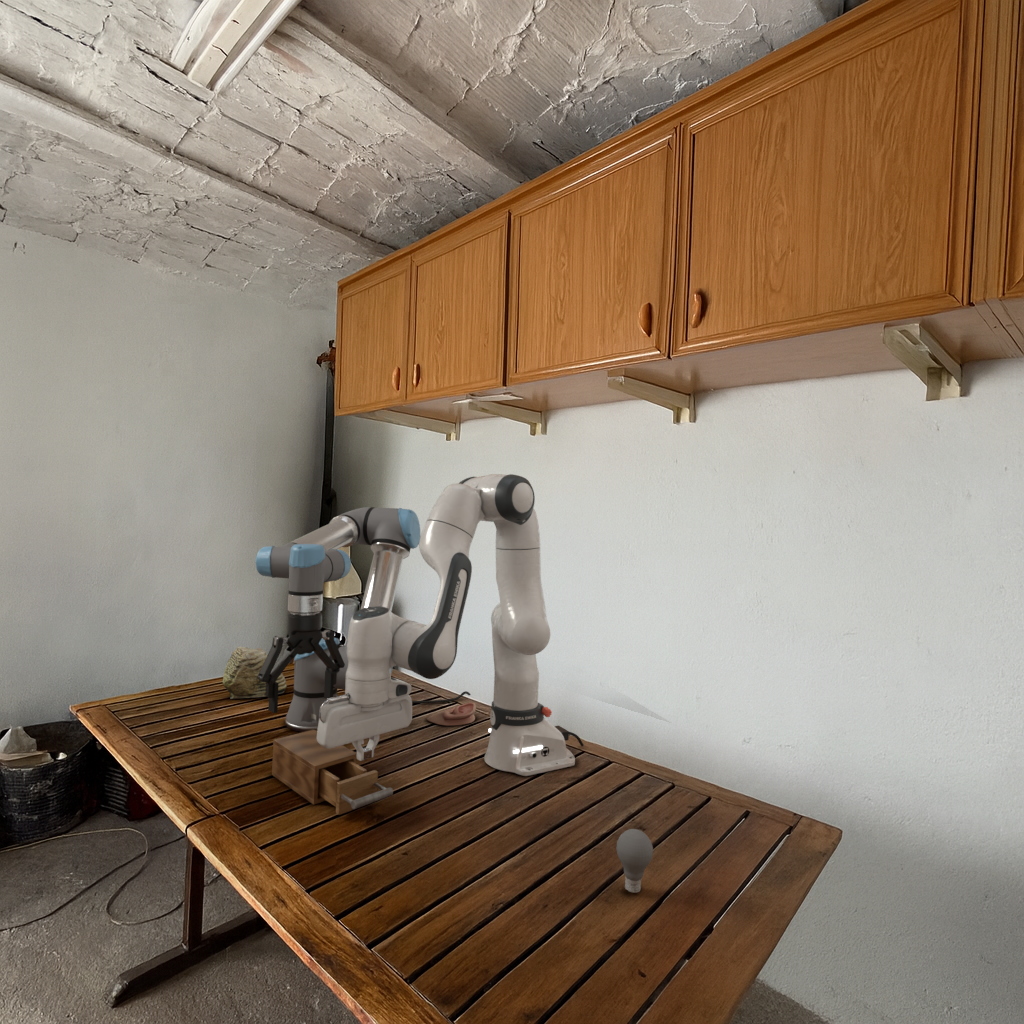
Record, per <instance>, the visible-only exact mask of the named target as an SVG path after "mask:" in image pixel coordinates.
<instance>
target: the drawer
mask: <svg viewBox="0 0 1024 1024" xmlns="http://www.w3.org/2000/svg"><path fill="white" fill-rule="evenodd" d="M378 779H379V772H378V771H377V770H376V769H373V770H370V771H368V770H367V768H364V767H363V766H361V765H359V764H358V763H357V764H356V763H354V762H352V761H351V760H348V761H344V762H341V763H338V764H335V765H331V766H328V767H325V768H321V769H319V780H318V795H319V796H320V797H322V798H323V799H325V800H326V801H325V802H328V803H329V804H331V805H332V806H334V807H335V814H336V815H338V816H340V815H343V814H347V813H348V812H351V811H353V810H357V809H359V808H362V807H365V806H367V805H370V804H373V803H376V802H378V801H381V800H383V799H387V798H389V797H392V796H393V795H394V789H393V788H392V787H391V786H389V787H385V786H384V785H382V784H380V783H378V781H379V780H378ZM378 789H379V790H378Z"/></svg>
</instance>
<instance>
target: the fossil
mask: <svg viewBox="0 0 1024 1024" xmlns="http://www.w3.org/2000/svg"><path fill="white" fill-rule="evenodd" d="M267 655H268V653H266V652H265V650H264V649H263V648H260V647H258V648H251V647H247V646H246V647H245V646H238V647H237V648H236V649H235V650H233V651H232V653H231V656H230V657H229V659H228V660H227V663H226V666H225V668H224V671H223V675H222V676H223V677H222V685H223V687H224V688H225V690H226V691H228V693H229V698H230V699H250V698H264V697H266V695H265V692H266V682H262V681H260V680H258V679H257V676H258V674H259V672H260V670H261V668H262V666H263V664H264V662H265V659H266V657H267ZM275 682H277V683H279V684H278V695H281V694H284V693H285V691H286V689H287V687H288V686H287V680H286V678H285V676H284V674H283V672H282V673H281V674H280V676H279V677H278V678H277V680H276V681H275Z"/></svg>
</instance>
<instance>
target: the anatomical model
mask: <svg viewBox="0 0 1024 1024" xmlns="http://www.w3.org/2000/svg"><path fill="white" fill-rule="evenodd" d="M476 710H477V705H476V703H475V702H467V703H462V704H460V705H456V706H454V707H451V708H448V709H445V710H442V711H438V712H435V713H433V714H431V715H429V716H428V717H427V719H426V720H427V721H428V722H430V723H433V724H434V725H435V724H436V725H440V726H462V725H468V724H470V723H473V722H475V720H476V716H475V712H476Z"/></svg>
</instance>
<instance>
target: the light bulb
mask: <svg viewBox="0 0 1024 1024" xmlns="http://www.w3.org/2000/svg"><path fill="white" fill-rule="evenodd" d="M615 849H616V854H617V857H618V859H619V861H620V863H621V865H622V867H623V873H624V874H623V875H624V876H625V878H624V888H625V890H627V891H628V892H630V893H634V894H635V893H639V892H640V891H641V889H642V887H641V886H642V879H643V877H644V875H645V871H646V868H647V867H648V866H649V864H650V863H651V861H652V859H653V855H654V847H653V843H652V841H651V838H649V836H648V835H647V834H646V833H645V832H643V831H642V830H641V829H636V828H629V829H627V830H625V831H623V832H622V833H621V834H620V835H619V837H618V839H617V841H616V847H615Z"/></svg>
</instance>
